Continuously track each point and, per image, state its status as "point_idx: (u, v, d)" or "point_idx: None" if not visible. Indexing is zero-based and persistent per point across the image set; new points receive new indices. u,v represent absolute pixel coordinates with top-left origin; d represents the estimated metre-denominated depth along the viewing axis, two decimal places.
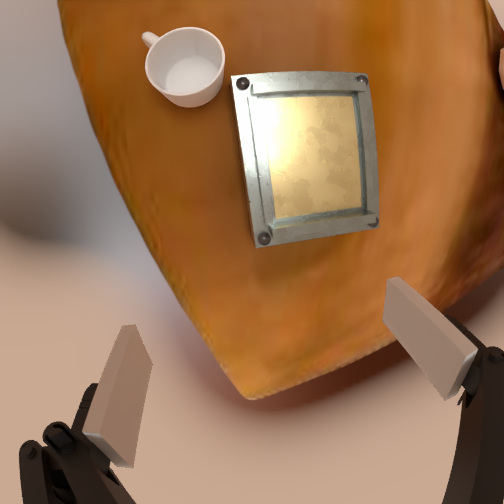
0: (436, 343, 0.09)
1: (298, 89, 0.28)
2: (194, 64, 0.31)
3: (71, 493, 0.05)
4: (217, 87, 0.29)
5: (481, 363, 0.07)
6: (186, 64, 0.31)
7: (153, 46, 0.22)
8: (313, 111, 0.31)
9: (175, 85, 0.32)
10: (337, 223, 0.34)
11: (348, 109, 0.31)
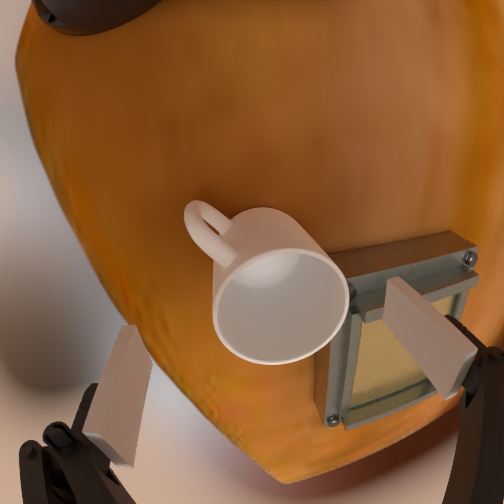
0: (436, 343, 0.09)
1: None
2: None
3: (71, 493, 0.05)
4: None
5: (481, 363, 0.07)
6: None
7: (225, 287, 0.15)
8: None
9: None
10: (405, 406, 0.28)
11: (448, 298, 0.24)
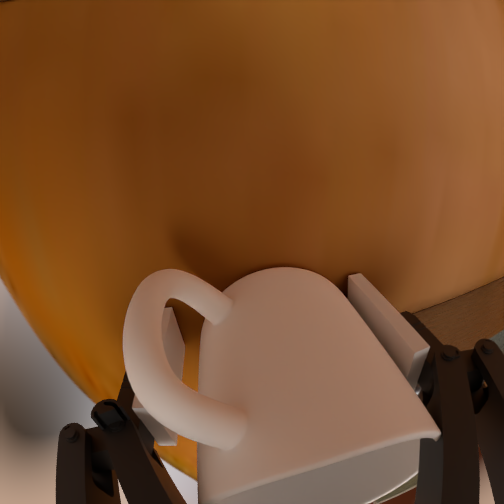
0: (389, 339, 0.10)
1: None
2: None
3: (109, 479, 0.07)
4: None
5: (434, 363, 0.08)
6: None
7: (220, 498, 0.05)
8: None
9: None
10: None
11: None
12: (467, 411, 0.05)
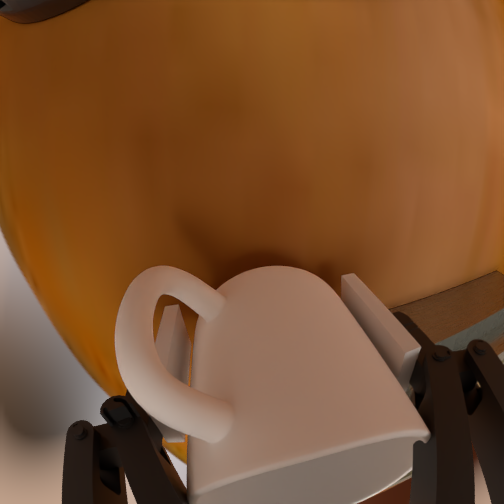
0: (380, 339, 0.10)
1: None
2: None
3: (116, 477, 0.07)
4: None
5: (426, 364, 0.08)
6: None
7: (207, 490, 0.05)
8: None
9: None
10: None
11: None
12: (460, 412, 0.06)
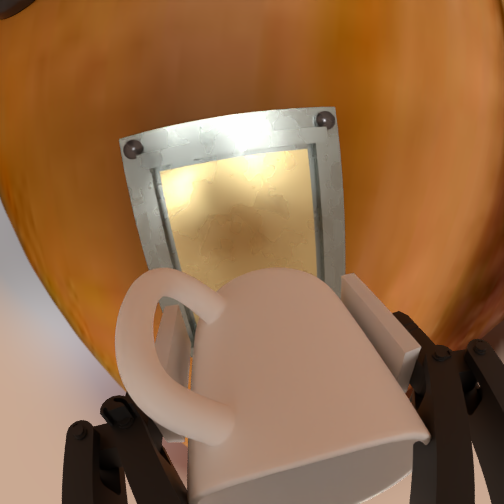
0: (381, 339, 0.10)
1: (207, 155, 0.19)
2: None
3: (116, 477, 0.07)
4: None
5: (425, 364, 0.08)
6: None
7: (208, 493, 0.05)
8: (241, 181, 0.22)
9: None
10: None
11: (300, 171, 0.22)
12: (460, 412, 0.06)
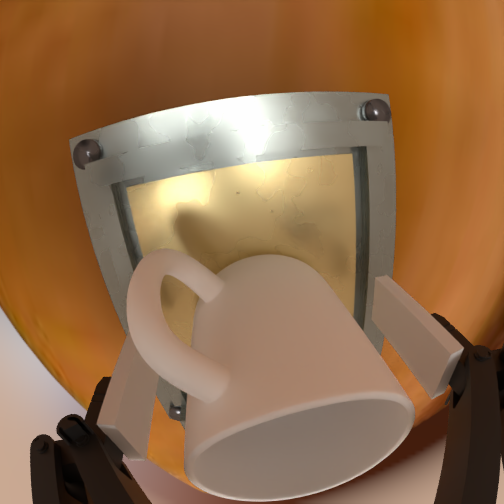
0: (422, 341, 0.10)
1: (198, 161, 0.11)
2: None
3: (82, 488, 0.06)
4: None
5: (467, 363, 0.07)
6: None
7: (204, 448, 0.06)
8: (253, 202, 0.14)
9: None
10: None
11: (341, 186, 0.15)
12: (494, 411, 0.05)
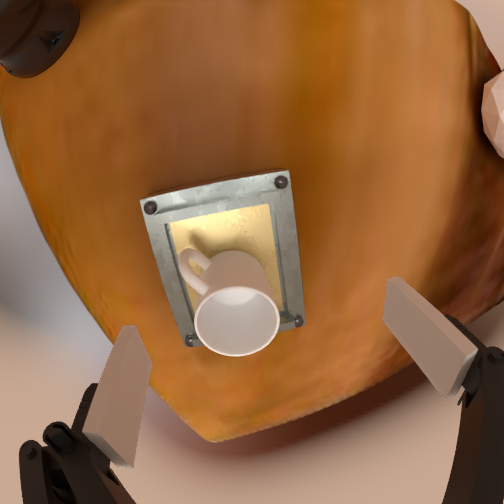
0: (436, 343, 0.09)
1: (200, 215, 0.31)
2: None
3: (71, 493, 0.05)
4: None
5: (481, 363, 0.07)
6: None
7: (201, 306, 0.26)
8: (224, 228, 0.34)
9: None
10: None
11: (264, 219, 0.34)
12: None
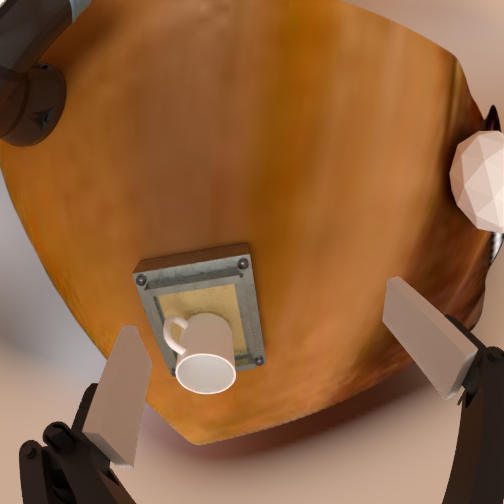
0: (436, 343, 0.09)
1: (179, 291, 0.39)
2: None
3: (71, 493, 0.05)
4: None
5: (481, 363, 0.07)
6: None
7: (179, 364, 0.34)
8: (198, 296, 0.42)
9: None
10: None
11: (229, 290, 0.43)
12: None
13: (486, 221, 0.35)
